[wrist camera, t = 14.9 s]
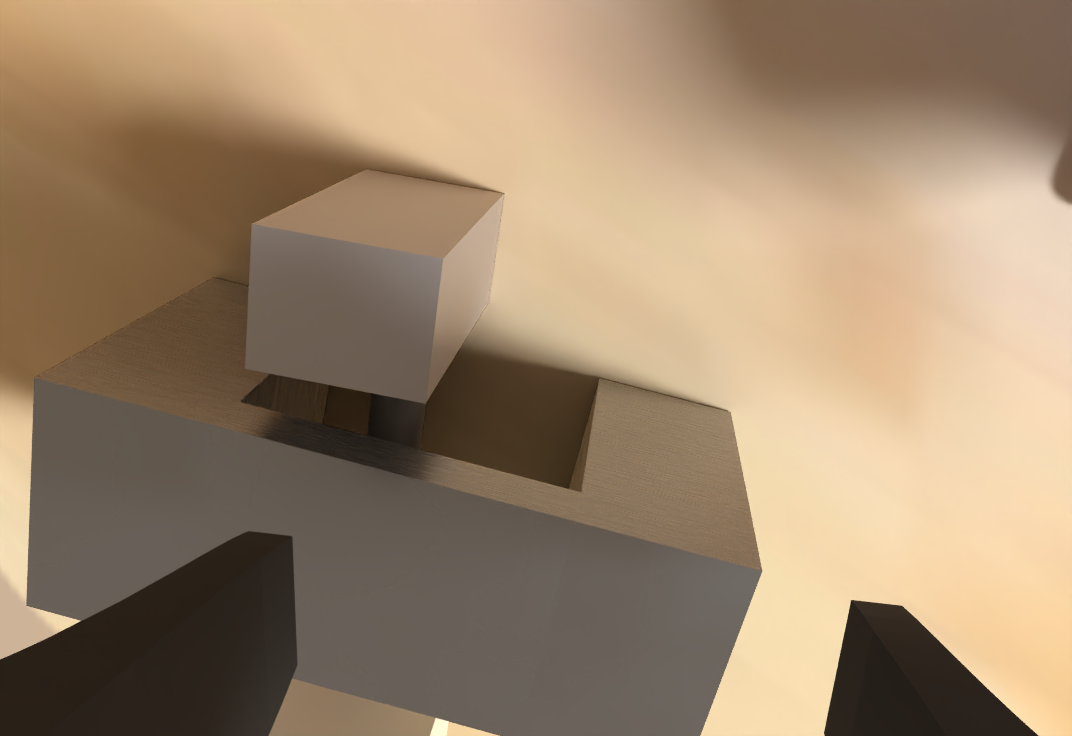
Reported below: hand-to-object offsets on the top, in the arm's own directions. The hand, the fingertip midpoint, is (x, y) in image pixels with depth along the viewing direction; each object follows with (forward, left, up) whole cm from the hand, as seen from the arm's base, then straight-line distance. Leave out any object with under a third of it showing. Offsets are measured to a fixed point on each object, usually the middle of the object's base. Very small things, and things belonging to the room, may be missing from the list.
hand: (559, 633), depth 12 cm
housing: (+3, +2, -9) cm, 10 cm away
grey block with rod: (+4, +5, -9) cm, 11 cm away
